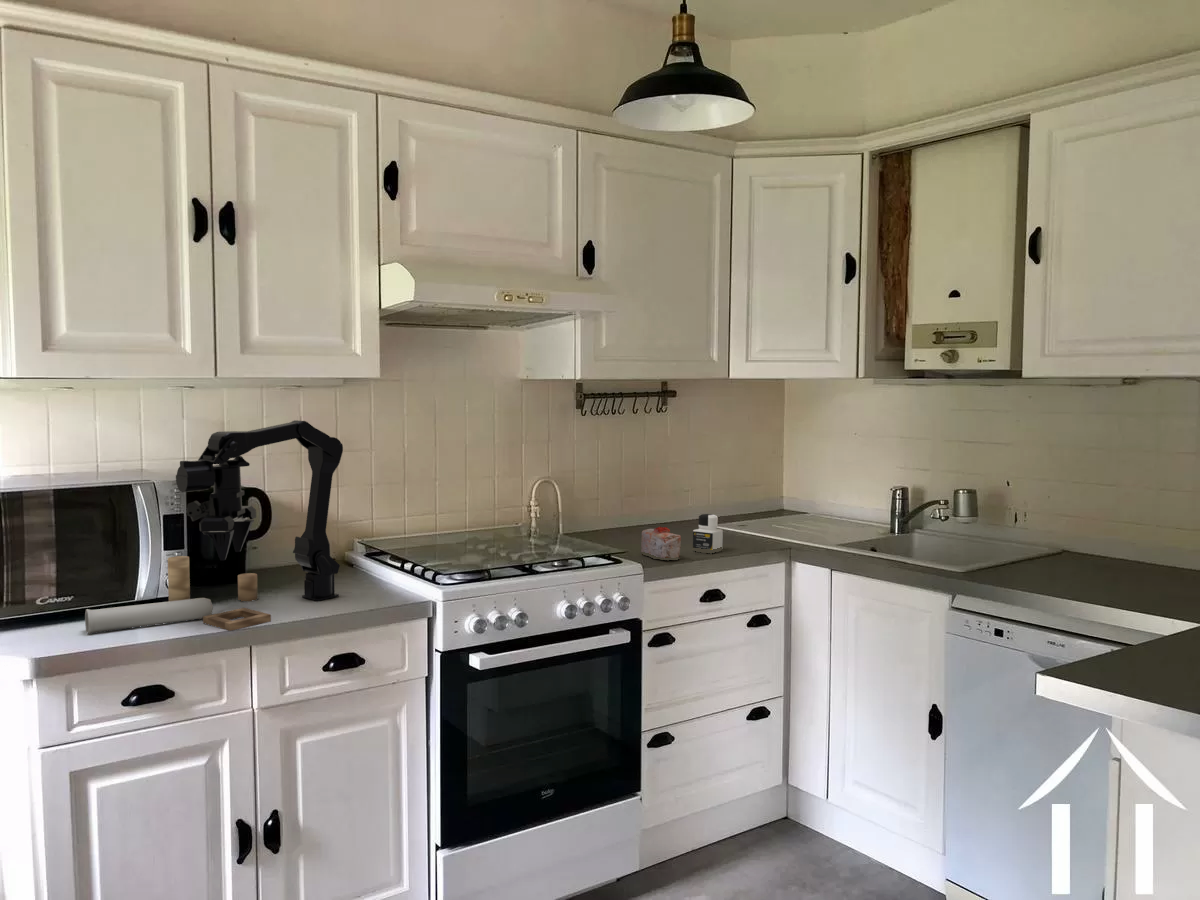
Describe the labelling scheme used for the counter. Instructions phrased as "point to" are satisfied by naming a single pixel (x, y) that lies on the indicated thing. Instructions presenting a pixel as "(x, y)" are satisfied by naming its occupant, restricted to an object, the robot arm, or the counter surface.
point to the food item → (661, 543)
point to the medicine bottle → (708, 533)
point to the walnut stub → (247, 587)
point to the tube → (146, 614)
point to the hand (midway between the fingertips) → (230, 555)
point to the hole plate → (249, 619)
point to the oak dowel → (178, 578)
